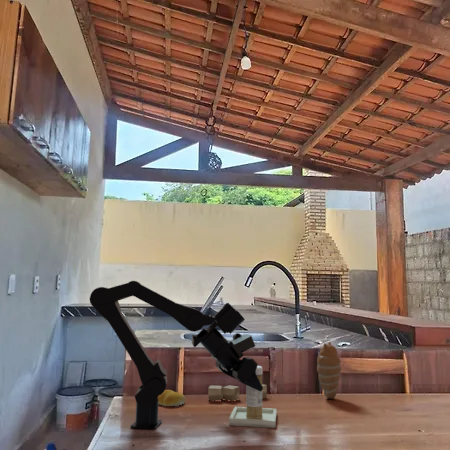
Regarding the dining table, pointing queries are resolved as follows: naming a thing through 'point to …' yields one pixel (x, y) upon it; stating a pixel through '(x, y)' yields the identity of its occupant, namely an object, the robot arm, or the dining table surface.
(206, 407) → the dining table surface
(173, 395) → the bread roll
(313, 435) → the dining table surface
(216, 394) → the oak cube
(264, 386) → the oak cube
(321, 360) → the croissant
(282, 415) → the dining table surface
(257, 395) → the sprinkles bottle
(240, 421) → the tray
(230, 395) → the oak cube
